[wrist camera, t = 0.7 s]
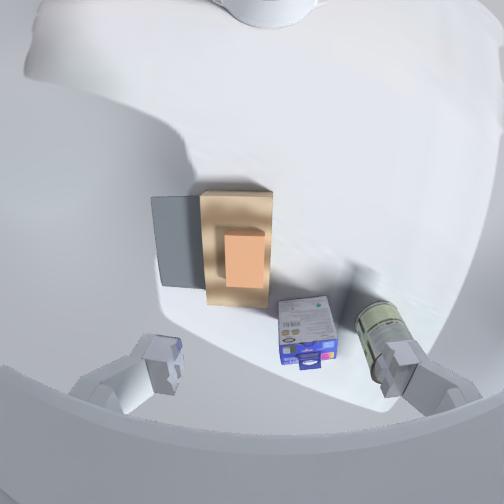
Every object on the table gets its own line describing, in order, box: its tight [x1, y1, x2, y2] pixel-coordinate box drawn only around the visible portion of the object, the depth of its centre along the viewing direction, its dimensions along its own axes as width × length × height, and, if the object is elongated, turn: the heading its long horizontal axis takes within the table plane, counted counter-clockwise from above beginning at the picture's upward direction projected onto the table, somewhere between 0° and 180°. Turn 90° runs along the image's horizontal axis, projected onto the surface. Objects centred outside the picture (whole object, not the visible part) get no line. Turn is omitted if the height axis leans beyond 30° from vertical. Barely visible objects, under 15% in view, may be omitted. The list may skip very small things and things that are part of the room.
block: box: [225, 231, 265, 288], centre depth 44 cm, size 9×6×2 cm, turn 179°
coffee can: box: [355, 301, 414, 384], centre depth 47 cm, size 10×10×14 cm
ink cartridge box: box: [278, 296, 338, 370], centre depth 47 cm, size 10×6×14 cm, turn 99°
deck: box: [200, 190, 273, 308], centre depth 46 cm, size 20×11×4 cm, turn 179°
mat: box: [151, 196, 206, 289], centre depth 49 cm, size 18×10×1 cm, turn 179°
